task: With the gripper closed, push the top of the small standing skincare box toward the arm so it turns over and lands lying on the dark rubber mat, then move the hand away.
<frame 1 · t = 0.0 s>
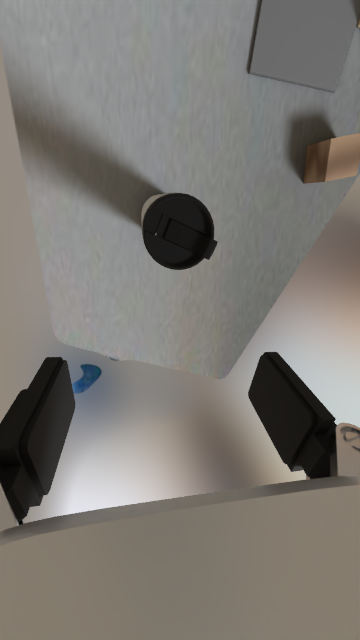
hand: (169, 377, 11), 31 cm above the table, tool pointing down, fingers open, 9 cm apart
walnut block: (319, 162, 35), on the table
travel mug: (161, 216, 36), on the table
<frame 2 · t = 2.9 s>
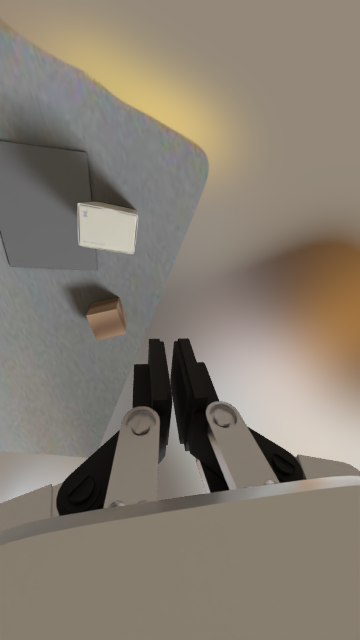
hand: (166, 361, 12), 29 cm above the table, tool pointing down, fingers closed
walnut block: (109, 311, 41), on the table
skincare box: (117, 220, 34), on the table
mat: (46, 214, 32), on the table
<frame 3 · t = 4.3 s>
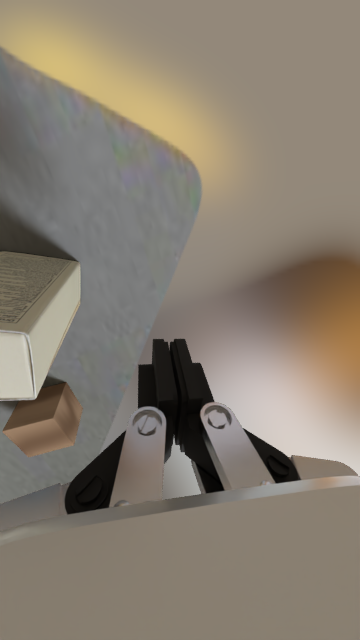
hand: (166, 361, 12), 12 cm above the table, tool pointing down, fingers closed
walnut block: (55, 400, 27), on the table
skincare box: (47, 277, 20), on the table
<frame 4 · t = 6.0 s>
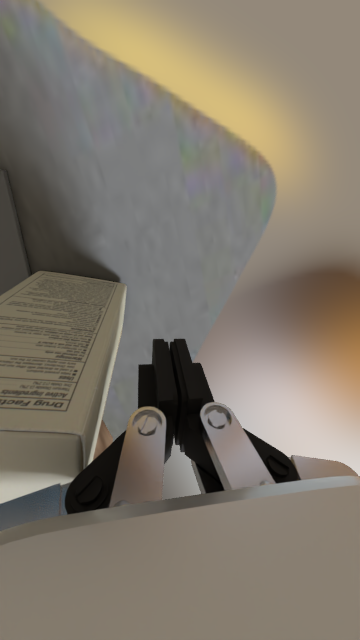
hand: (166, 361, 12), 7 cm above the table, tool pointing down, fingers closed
walnut block: (83, 430, 24), on the table
skincare box: (86, 300, 17), on the table, touching gripper
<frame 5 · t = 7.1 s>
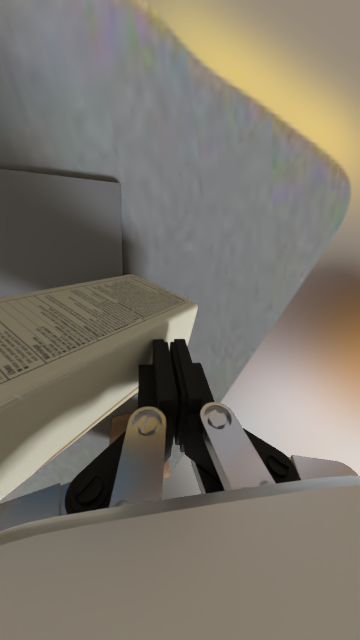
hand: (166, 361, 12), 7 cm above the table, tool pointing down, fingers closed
walnut block: (140, 424, 26), on the table
skincare box: (161, 312, 16), point 2 cm above the table, touching gripper, mat
mat: (33, 298, 16), on the table
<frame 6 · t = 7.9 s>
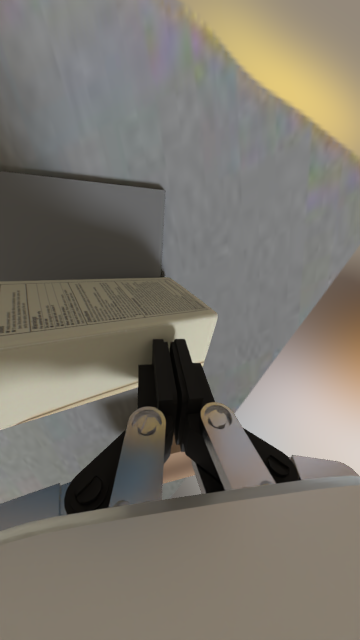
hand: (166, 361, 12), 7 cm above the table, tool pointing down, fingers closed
walnut block: (164, 423, 26), on the table
skincare box: (189, 318, 16), point 3 cm above the table, touching gripper, mat
mat: (74, 300, 17), on the table
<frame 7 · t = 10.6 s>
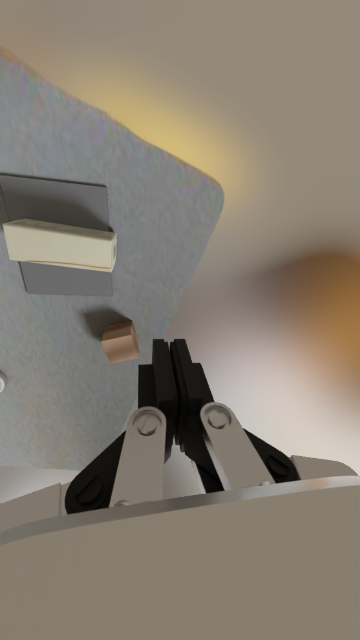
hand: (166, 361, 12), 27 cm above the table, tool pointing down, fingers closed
walnut block: (122, 334, 42), on the table
skincare box: (116, 251, 31), point 4 cm above the table, touching mat
mat: (64, 244, 33), on the table
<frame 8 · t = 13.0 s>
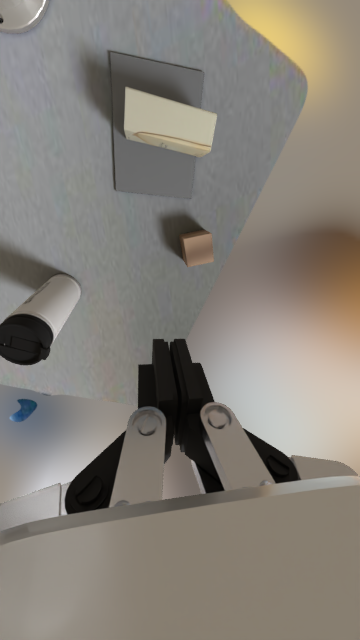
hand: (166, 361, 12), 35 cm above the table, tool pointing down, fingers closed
walnut block: (193, 245, 44), on the table
travel mug: (66, 288, 44), on the table
skincare box: (210, 137, 33), point 4 cm above the table, touching mat
mat: (156, 136, 34), on the table
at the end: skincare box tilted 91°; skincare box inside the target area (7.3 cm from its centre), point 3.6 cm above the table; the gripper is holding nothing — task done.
